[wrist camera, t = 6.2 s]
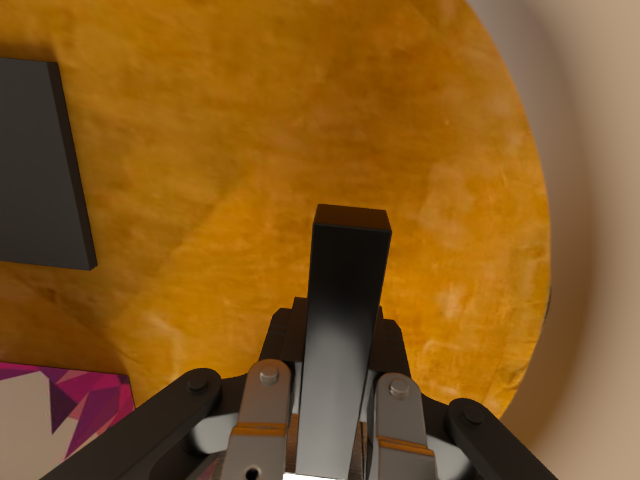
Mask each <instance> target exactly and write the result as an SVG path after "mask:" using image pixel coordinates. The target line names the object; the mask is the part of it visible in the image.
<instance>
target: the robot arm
mask: <svg viewBox="0 0 640 480" xmlns="http://www.w3.org/2000/svg"><path fill="white" fill-rule="evenodd" d="M306 309H307V298H302V297H295V298H294V302H293V306H292V309H287V308H280V309H279V310H278V311H277V312H276V313H275V314H274V315H273V316H272V319H271V323H270V326H269V329H268V333H267V335H266V338H265V341H264V344H263V348H262V351H261V354H260V357H259V360H258V362H257V363H255V364H254V365H253V366H252V367H251V368H250V369H249V371H248V373H246V374H244V375H241V376H238V377H233V378H226V379H221V377H220V375H219V374H218V373H217V372H216V371H214V370H212V369H209V368H197V369H193V370H190V371H188V372H186V373H185V374H183V375H182V376H180V377H179V378H178V379H176V380H175V381H174V382H172V383H171V384H169V385H168V386H167V387H165V388H164V389H163V390H161V391H160V392H158V393H157V394H156V395H154V396H153V397H152V398H150V399H149V400H147V401H146V402H145V403H143V404H142V405H141V406H139V407H138V408H136V409H135V410H134V411H132V412H131V413H130V414H128V415H127V416H125V417H124V418H123V419H121V420H120V421H119V422H117V423H116V424H114V425H113V426H112V427H110V428H109V429H108V430H106V431H105V432H103V433H102V434H101V435H99V436H98V437H97V438H95V439H94V440H92V441H91V442H90V443H88V444H87V445H86V446H84V447H83V448H81V449H80V450H79V451H77V452H76V453H75V454H73V455H72V456H70V457H69V458H68V459H66V460H65V461H64V462H62V463H61V464H59V465H58V466H57V467H55V468H54V469H53V470H51V471H50V472H48V473H47V474H46V475H44V476H43V477H42V478H40V479H39V480H197V479H198V478H199V477H200V476H201V475H202V474H203V473H204V471H205V470H206V469H207V468H208V467H209V466H210V465H211V464H212V463H213V462H214V461H215V460H216V459H217V458H218V457H219V456H220V454H221V453H222V451H224V450H226V454H225V458H224V463H223V467H222V471H221V475H220V480H285V466H286V452H287V438H288V429H289V427H290V422H291V416H292V413H294V414H299V406H300V393H301V379H302V365H303V350H304V337H305V323H306ZM359 421H361V422H367V431H368V432H367V437H366V443H365V463H364V480H558V479H557V478H556V477H555V476H554V475H553V474H552V473H551V472H550V471H549V470H548V469H547V468H546V467H545V466H544V465H543V464H542V463H541V462H540V461H539V460H538V459H537V458H536V457H535V456H534V455H533V454H532V453H531V452H530V451H529V450H528V449H527V448H526V447H525V446H524V445H523V444H522V443H521V442H520V441H519V440H518V439H517V438H516V437H515V436H514V435H513V434H512V433H511V432H510V431H509V430H508V429H507V428H506V427H505V426H504V425H503V424H502V423H501V422H500V421H499V420H498V419H497V418H496V417H495V416H494V415H493V414H492V413H491V412H490V411H489V410H488V409H487V408H486V407H484V406H483V405H482V404H480V403H478V402H476V401H474V400H471V399H467V398H458V399H454V400H453V401H451V402H450V404H449V406H448V405H446V404H443V403H441V402H438V401H435V400H433V399H431V398H429V397H427V396H425V395H424V394H423V393H421V391H420V389H419V387H418V385H417V384H416V383H415V381H413V380H412V378H411V374H410V369H409V365H408V360H407V355H406V351H405V346H404V341H403V337H402V332H401V329H400V327H399V326H398V325H397V323H396V322H395V321H394V320H390V319H383V313H382V307H381V306H379V309H378V315H377V321H376V326H375V332H374V337H373V343H372V349H371V354H370V360H369V364H368V367H367V373H366V379H365V384H364V390H363V396H362V401H361V407H360V413H359Z"/></svg>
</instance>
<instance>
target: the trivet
mask: <svg viewBox="0 0 640 480" xmlns="http://www.w3.org/2000/svg"><path fill="white" fill-rule="evenodd" d="M0 261H7V262H16V263H25V264H34V265H43V266H52V267H61V268H70V269H79V270H88V271H90V270H92V269H93V268H94V267H96V266H97V261H96V256H95V251H94V246H93V241H92V236H91V231H90V226H89V221H88V216H87V211H86V205H85V200H84V195H83V190H82V185H81V180H80V175H79V170H78V165H77V160H76V155H75V150H74V145H73V140H72V135H71V130H70V125H69V119H68V114H67V109H66V104H65V99H64V94H63V89H62V84H61V79H60V74H59V69H58V64H57V63H55V62H45V61H34V60H23V59H13V58H2V57H0Z"/></svg>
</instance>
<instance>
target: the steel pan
mask: <svg viewBox="0 0 640 480" xmlns="http://www.w3.org/2000/svg"><path fill="white" fill-rule="evenodd" d="M391 236H392V230H391V226H390V223H389V219H388V216H387V213H386V211H385V210H379V209H368V208H358V207H348V206H338V205H327V204H318V205H317V209H316V213H315V217H314V221H313V228H312V242H311V255H310V269H309V282H308V296H307V309H306V323H305V337H304V350H303V365H302V379H301V393H300V406H299V414H294V413H292V416H291V422H290V427H289V429H288V438H287V452H286V466H285V480H364V463H365V443H366V437H367V432H368V431H367V422H361V421H359V413H360V407H361V401H362V396H363V390H364V384H365V379H366V373H367V367H368V364H369V360H370V354H371V349H372V343H373V337H374V332H375V326H376V321H377V315H378V309H379V304H380V298H381V292H382V287H383V281H384V276H385V270H386V264H387V259H388V253H389V248H390V242H391ZM225 454H226V450H224V451H222V453H221V454H220V456H219V457H218V458H217V459H216V460H215V461H214V462H213V463H212V464H211V465H210V466H209V467H208V468H207V469H206V470H205V471H204V473H203V474H202V475H201V476H200V477H199V478H198V479H197V480H220V475H221V471H222V467H223V463H224V458H225Z"/></svg>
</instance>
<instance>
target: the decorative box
mask: <svg viewBox="0 0 640 480" xmlns="http://www.w3.org/2000/svg"><path fill="white" fill-rule="evenodd" d="M134 410H135V407H134V402H133V398H132V393H131V388H130V383H129V379H128V376H125V375H116V374H106V373H97V372H88V371H78V370H69V369H59V368H50V367H41V366H31V365H22V364H13V363H3V362H0V480H39V479H40V478H42V477H43V476H44V475H46V474H47V473H48V472H50V471H51V470H53V469H54V468H55V467H57V466H58V465H59V464H61V463H62V462H64V461H65V460H66V459H68V458H69V457H70V456H72V455H73V454H75V453H76V452H77V451H79V450H80V449H81V448H83V447H84V446H86V445H87V444H88V443H90V442H91V441H92V440H94V439H95V438H97V437H98V436H99V435H101V434H102V433H103V432H105V431H106V430H108V429H109V428H110V427H112V426H113V425H114V424H116V423H117V422H119V421H120V420H121V419H123V418H124V417H125V416H127V415H128V414H130V413H131V412H132V411H134Z"/></svg>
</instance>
